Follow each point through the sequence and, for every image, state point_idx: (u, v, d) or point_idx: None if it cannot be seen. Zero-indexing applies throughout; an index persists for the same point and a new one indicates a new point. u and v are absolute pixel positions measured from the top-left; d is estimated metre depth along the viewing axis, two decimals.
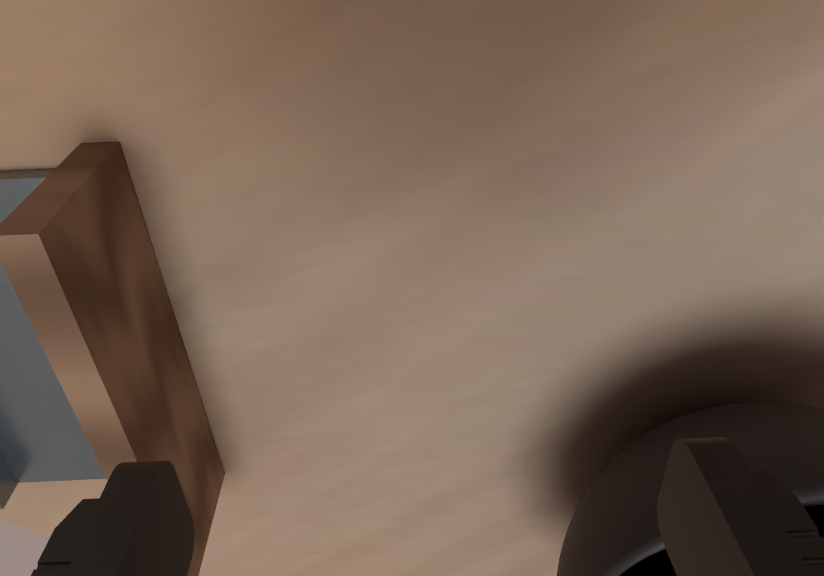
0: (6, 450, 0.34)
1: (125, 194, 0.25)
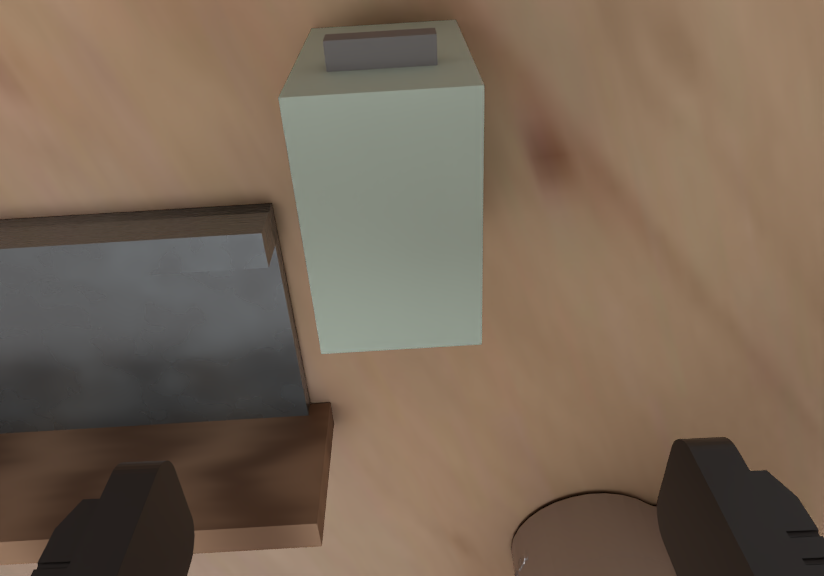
0: None
1: None
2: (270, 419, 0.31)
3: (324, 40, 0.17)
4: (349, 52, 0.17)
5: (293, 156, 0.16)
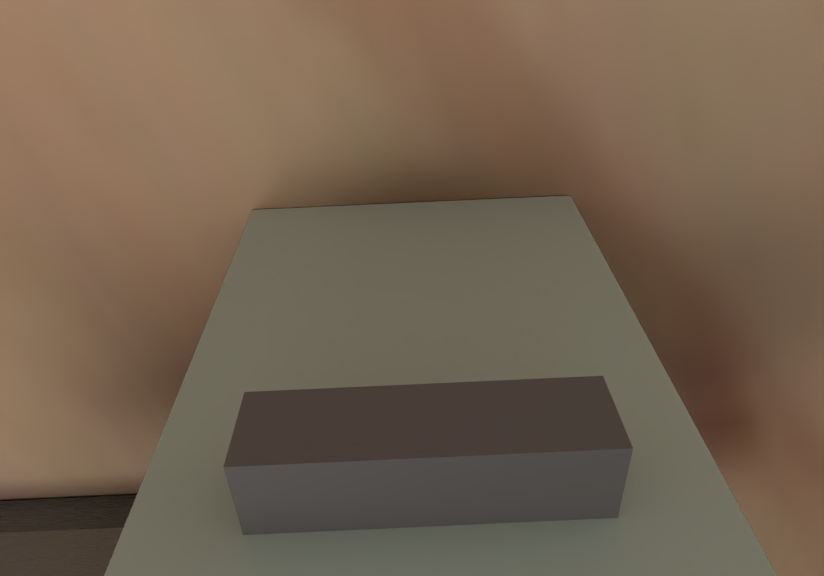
0: None
1: None
2: None
3: (231, 459, 0.05)
4: (320, 493, 0.05)
5: None
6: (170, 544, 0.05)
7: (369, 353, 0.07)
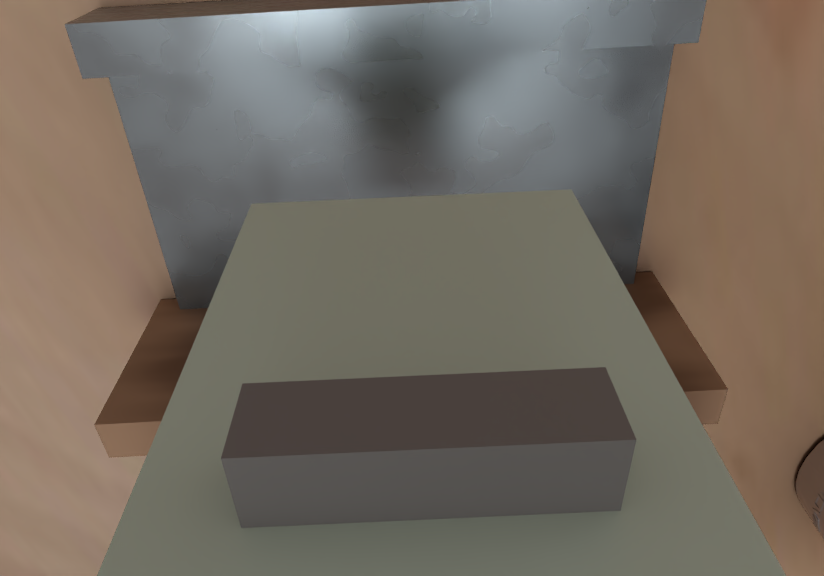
0: (190, 72, 0.20)
1: None
2: None
3: (228, 450, 0.05)
4: (319, 485, 0.05)
5: None
6: (167, 537, 0.05)
7: (368, 346, 0.07)
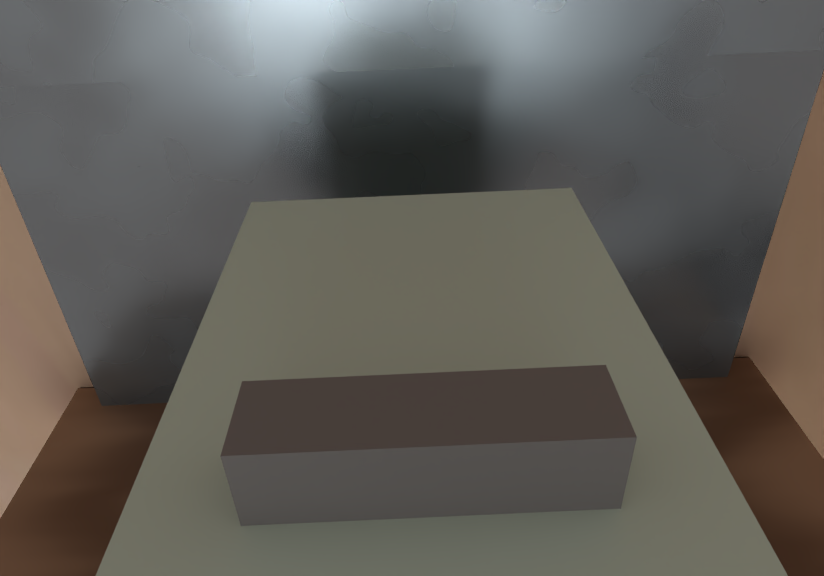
0: None
1: None
2: None
3: (228, 448, 0.05)
4: (318, 483, 0.05)
5: None
6: (166, 535, 0.05)
7: (368, 344, 0.07)
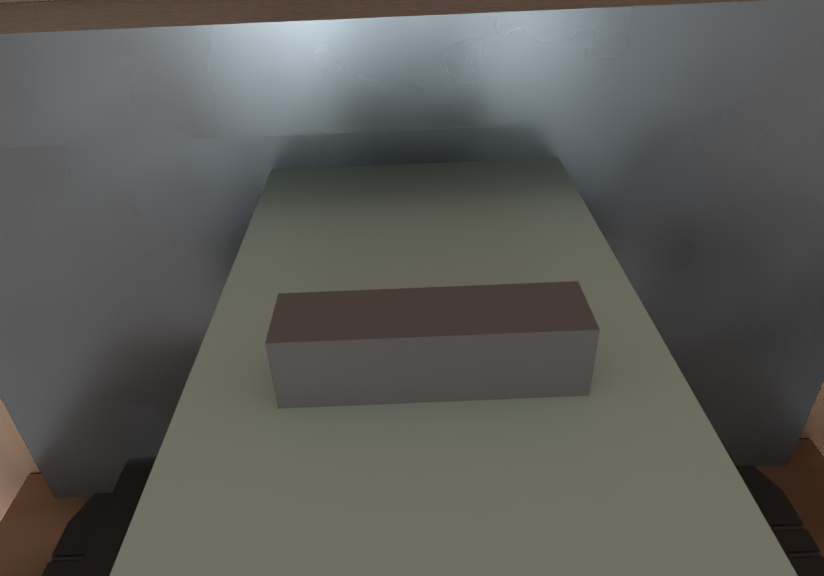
0: None
1: None
2: None
3: (270, 338, 0.06)
4: (343, 368, 0.06)
5: None
6: (218, 415, 0.06)
7: (379, 280, 0.08)
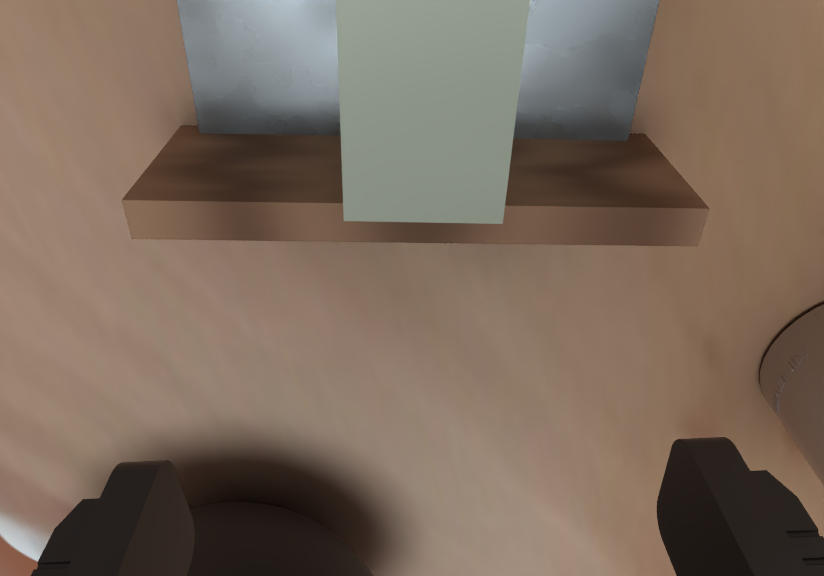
0: None
1: None
2: (585, 141, 0.27)
3: None
4: None
5: None
6: None
7: None
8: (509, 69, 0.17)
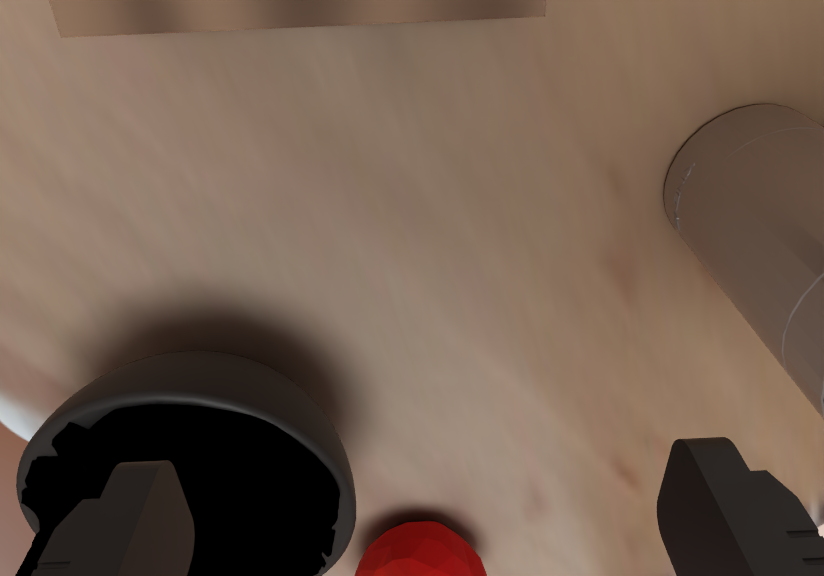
0: None
1: None
2: None
3: None
4: None
5: None
6: None
7: None
8: None
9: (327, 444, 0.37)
